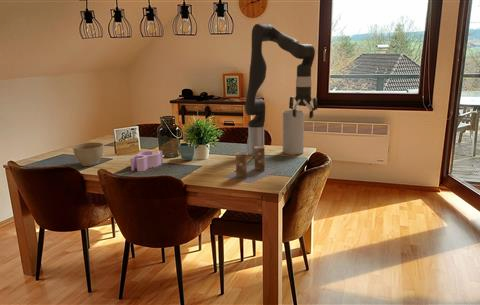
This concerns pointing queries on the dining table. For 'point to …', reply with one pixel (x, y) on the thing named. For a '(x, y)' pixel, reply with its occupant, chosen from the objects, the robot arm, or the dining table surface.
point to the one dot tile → (241, 165)
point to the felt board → (252, 174)
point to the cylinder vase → (293, 132)
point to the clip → (146, 160)
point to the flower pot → (186, 151)
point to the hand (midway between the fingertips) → (302, 117)
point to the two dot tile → (259, 158)
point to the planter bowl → (88, 153)
